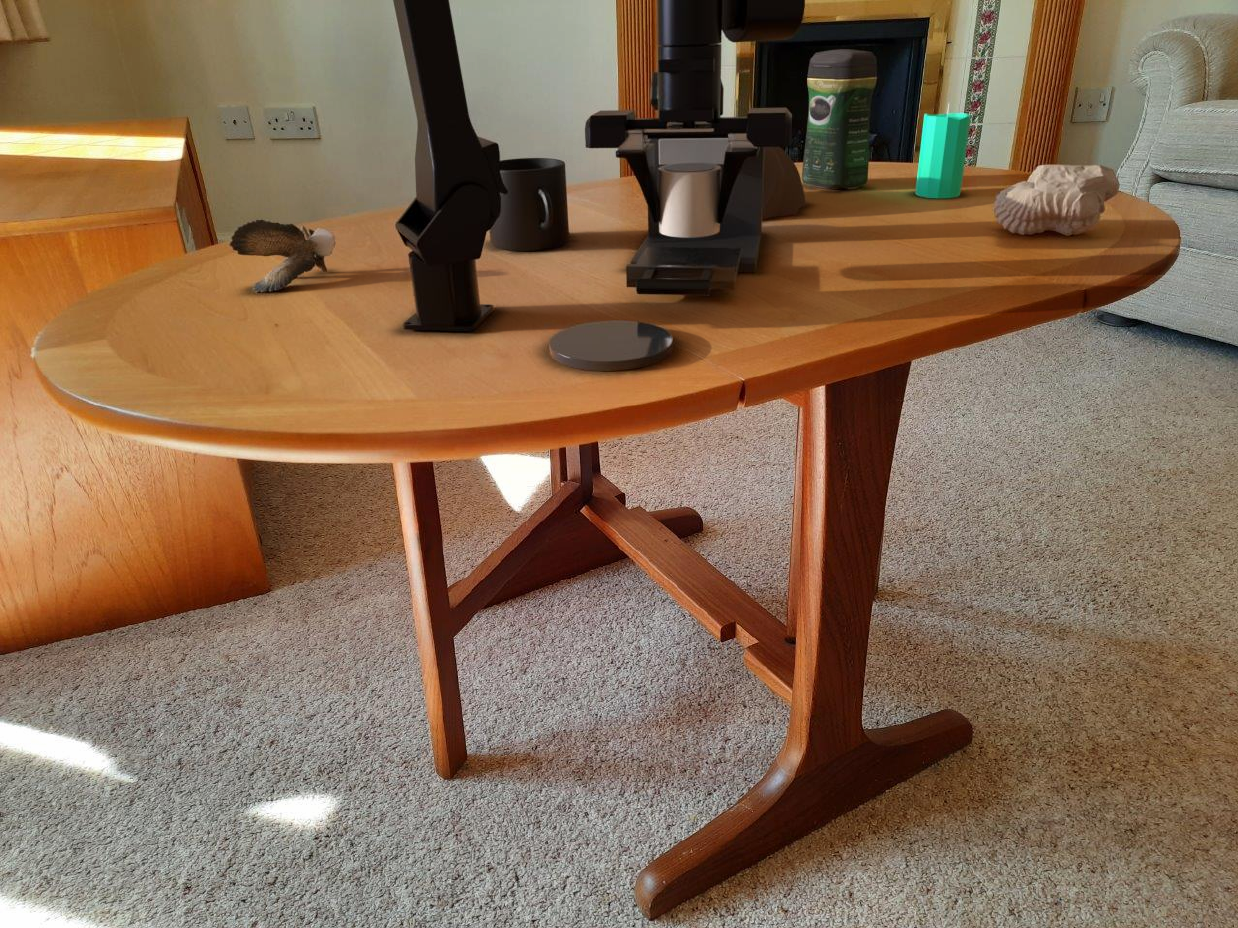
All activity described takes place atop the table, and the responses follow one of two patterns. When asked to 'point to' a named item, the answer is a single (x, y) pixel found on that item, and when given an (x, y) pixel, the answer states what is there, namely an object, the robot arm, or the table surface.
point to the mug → (532, 205)
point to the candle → (942, 155)
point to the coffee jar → (839, 118)
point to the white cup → (689, 199)
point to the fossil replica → (1057, 199)
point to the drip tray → (684, 270)
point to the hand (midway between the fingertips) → (688, 222)
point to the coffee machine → (743, 204)
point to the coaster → (611, 345)
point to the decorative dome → (781, 185)
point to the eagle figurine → (283, 250)
